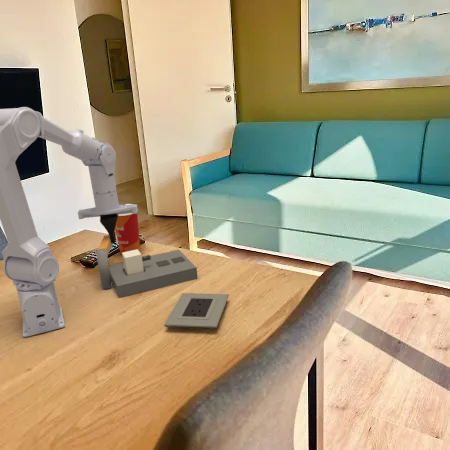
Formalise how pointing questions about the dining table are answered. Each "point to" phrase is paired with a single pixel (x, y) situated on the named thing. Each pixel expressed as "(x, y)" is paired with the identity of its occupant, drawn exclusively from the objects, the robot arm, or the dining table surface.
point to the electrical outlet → (197, 311)
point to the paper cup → (127, 232)
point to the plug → (133, 262)
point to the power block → (153, 273)
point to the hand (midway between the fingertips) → (113, 241)
